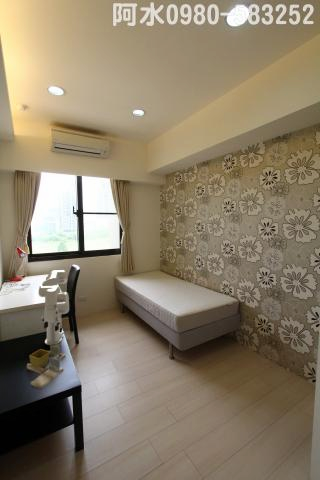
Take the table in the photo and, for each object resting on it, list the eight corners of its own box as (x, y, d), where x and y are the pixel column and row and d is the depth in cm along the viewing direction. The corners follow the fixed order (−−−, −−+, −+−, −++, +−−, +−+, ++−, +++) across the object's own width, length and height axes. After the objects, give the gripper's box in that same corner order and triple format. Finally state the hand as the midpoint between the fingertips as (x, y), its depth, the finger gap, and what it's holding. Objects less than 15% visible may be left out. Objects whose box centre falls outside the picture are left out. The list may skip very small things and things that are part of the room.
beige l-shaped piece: (53, 367, 147) (53, 353, 146) (63, 370, 144) (63, 356, 143) (31, 384, 131) (30, 369, 130) (41, 388, 128) (40, 373, 127)
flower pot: (40, 361, 153) (40, 348, 152) (50, 364, 150) (50, 351, 149) (29, 368, 145) (29, 355, 144) (39, 372, 142) (38, 358, 141)
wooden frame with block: (51, 352, 164) (51, 341, 163) (65, 356, 159) (65, 345, 159) (26, 368, 145) (26, 357, 144) (42, 373, 140) (42, 362, 140)
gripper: (64, 306, 158) (65, 328, 160) (45, 302, 163) (46, 324, 165) (57, 310, 151) (57, 333, 153) (37, 306, 156) (37, 329, 158)
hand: (51, 329), depth 159 cm, fingers open, 9 cm apart
